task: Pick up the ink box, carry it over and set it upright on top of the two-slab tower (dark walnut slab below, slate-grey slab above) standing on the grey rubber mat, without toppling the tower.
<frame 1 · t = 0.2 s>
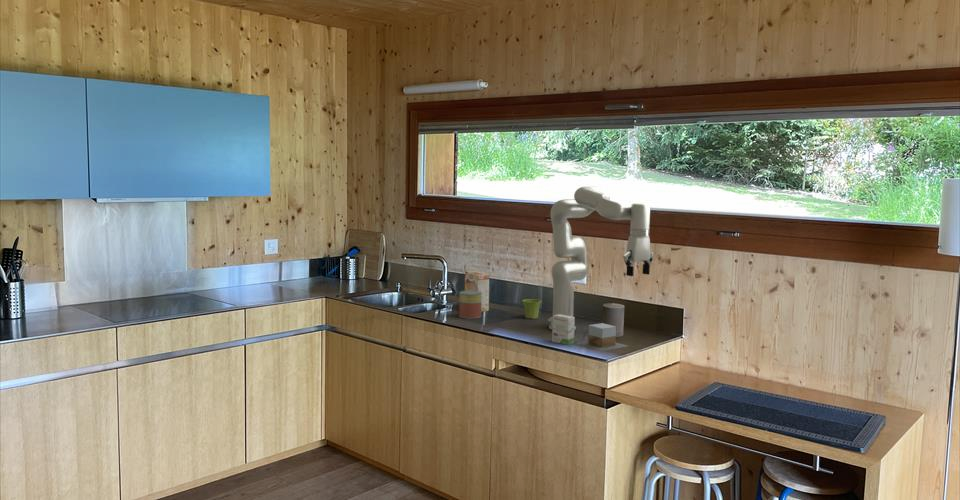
hand: (637, 274, 297), 31 cm above the counter, tool pointing down, fingers open, 9 cm apart
pillar candle: (612, 335, 324), on the counter
top slab: (602, 335, 304), point 4 cm above the counter, touching bottom slab
mat: (601, 345, 305), on the counter
plant pot: (531, 318, 360), on the counter
bottom slab: (601, 344, 305), resting on mat, touching top slab
canned food: (470, 316, 361), on the counter
ink box: (562, 343, 308), on the counter
coffeecake box: (476, 309, 381), on the counter
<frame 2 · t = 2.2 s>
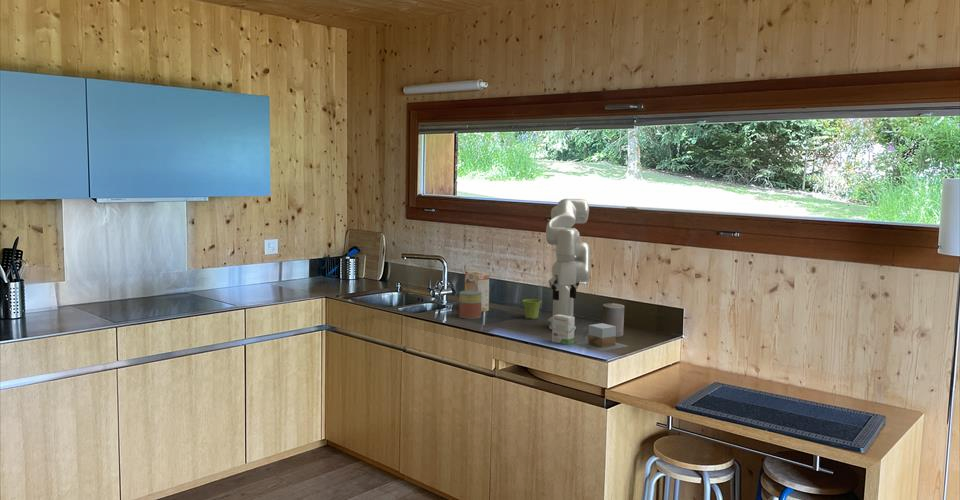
hand: (564, 298, 306), 19 cm above the counter, tool pointing down, fingers open, 9 cm apart
nothing on the counter moved.
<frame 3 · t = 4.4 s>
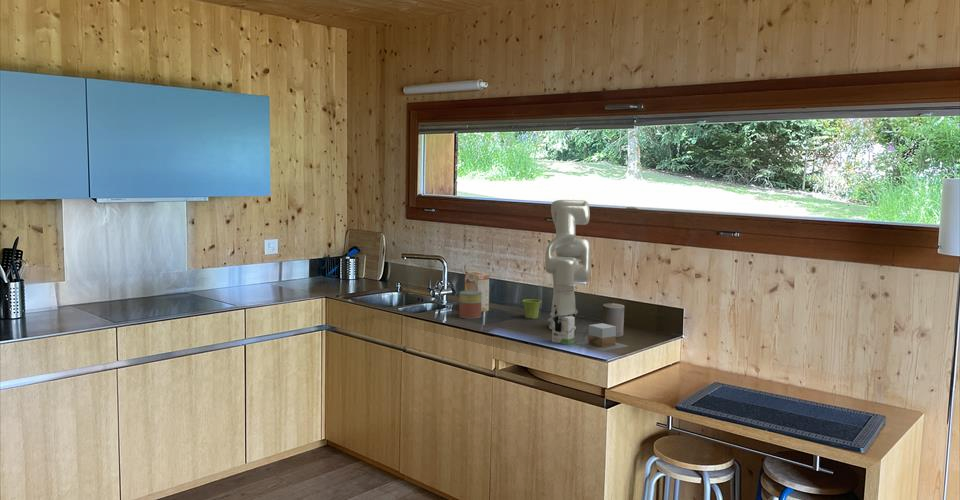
hand: (563, 330, 307), 6 cm above the counter, tool pointing down, fingers closed on ink box, 5 cm apart
ink box: (562, 343, 308), on the counter, touching gripper
everything else where it was.
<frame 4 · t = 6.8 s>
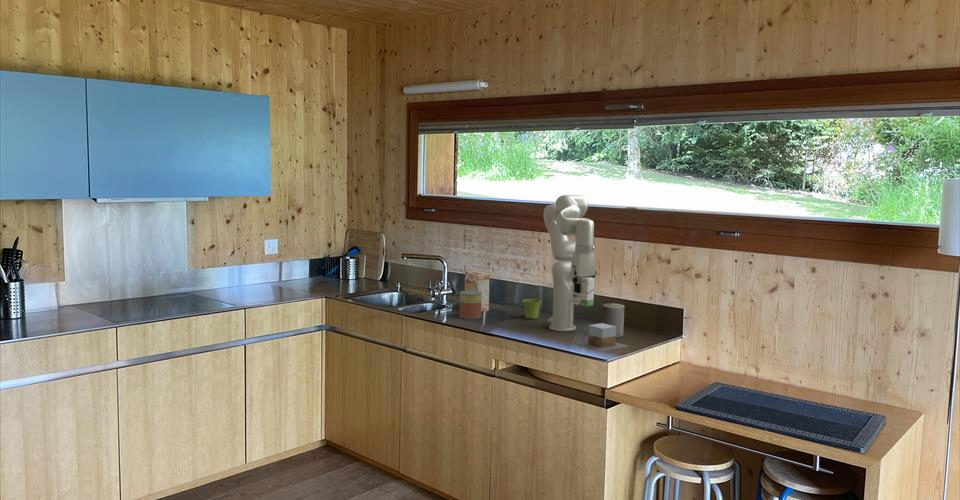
hand: (582, 291, 304), 23 cm above the counter, tool pointing down, fingers closed on ink box, 5 cm apart
ink box: (582, 305, 304), point 17 cm above the counter, touching gripper
everything else where it was.
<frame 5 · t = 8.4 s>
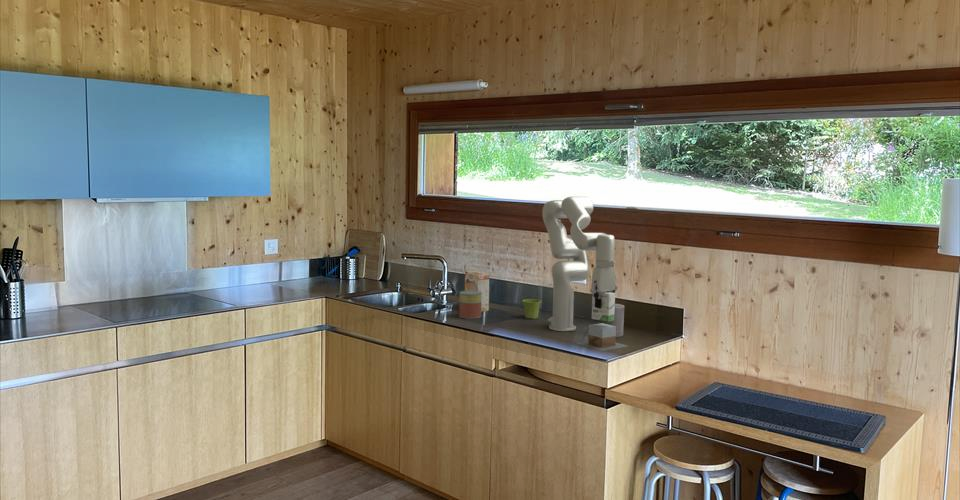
hand: (603, 306, 303), 17 cm above the counter, tool pointing down, fingers closed on ink box, 5 cm apart
ink box: (602, 320, 304), point 11 cm above the counter, touching gripper
everything else where it was.
when the fingers open (15 cm above the counter, at t = 9.5 s): ink box stays where it is, resting on top slab.
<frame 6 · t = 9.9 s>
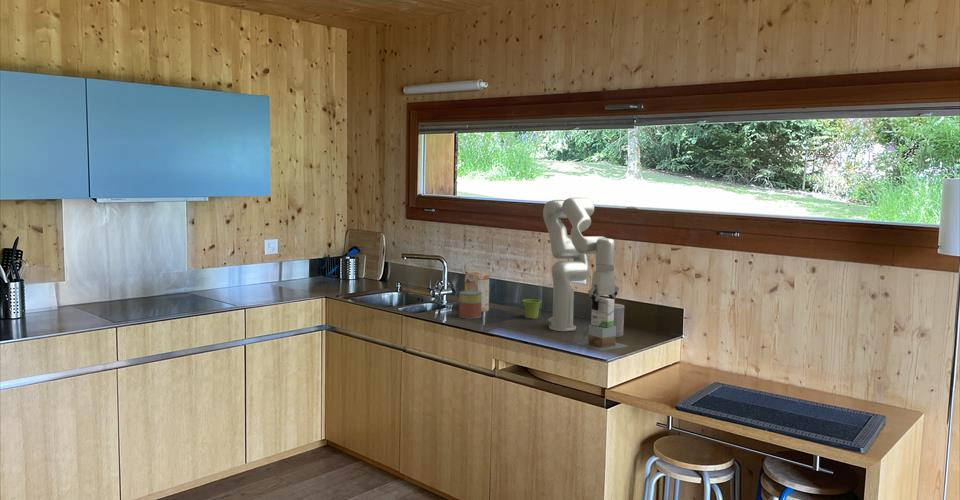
hand: (603, 308, 303), 16 cm above the counter, tool pointing down, fingers open, 9 cm apart
top slab: (602, 335, 304), point 4 cm above the counter, touching bottom slab, ink box
ink box: (602, 326, 304), point 8 cm above the counter, touching top slab
everything else where it was.
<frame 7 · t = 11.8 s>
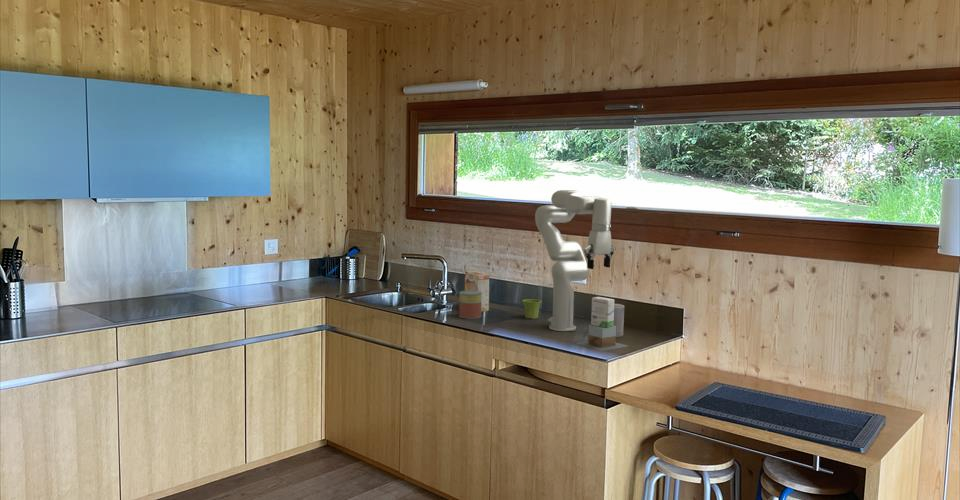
hand: (598, 267, 308), 32 cm above the counter, tool pointing down, fingers open, 9 cm apart
nothing on the counter moved.
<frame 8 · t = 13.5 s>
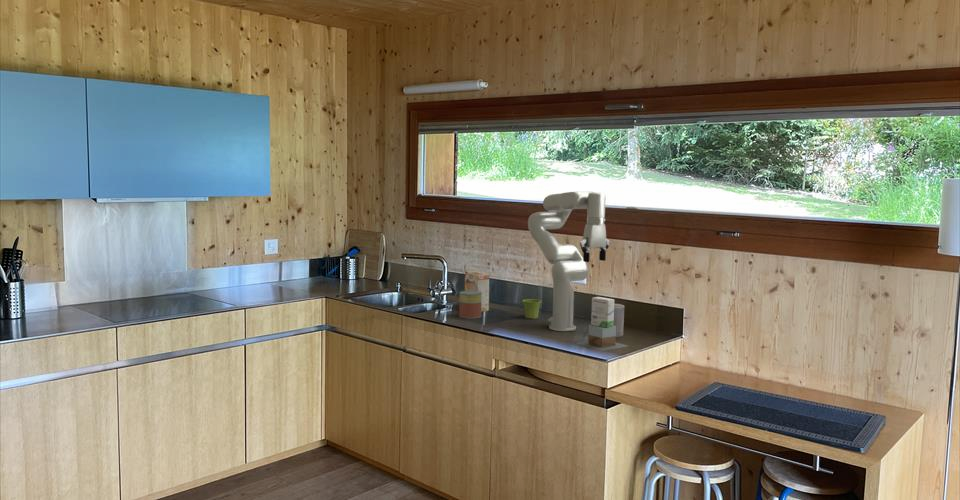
hand: (594, 261, 313), 34 cm above the counter, tool pointing down, fingers open, 9 cm apart
nothing on the counter moved.
at the end: ink box inside the target area on the top slab (0.2 cm from its centre), point 3.8 cm above the top slab's base; ink box tilted 0°; top slab tilted 0° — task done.
